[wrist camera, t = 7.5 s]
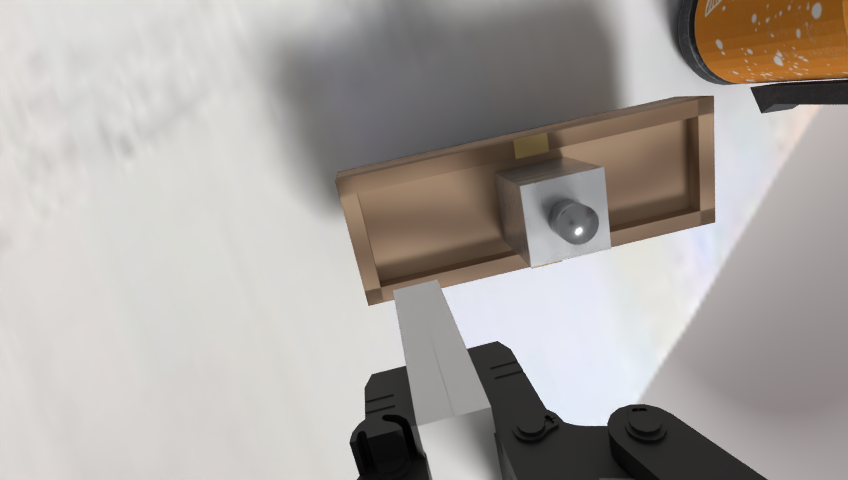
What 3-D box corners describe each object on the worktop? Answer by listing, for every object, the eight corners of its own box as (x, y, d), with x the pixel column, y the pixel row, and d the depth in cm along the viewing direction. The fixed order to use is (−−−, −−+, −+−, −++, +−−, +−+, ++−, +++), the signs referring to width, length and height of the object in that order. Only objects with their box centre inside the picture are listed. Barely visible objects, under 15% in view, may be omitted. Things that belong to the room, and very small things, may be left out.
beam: (341, 163, 33) (334, 180, 26) (641, 96, 35) (716, 94, 27) (367, 266, 36) (368, 307, 28) (647, 200, 37) (717, 223, 30)
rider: (493, 172, 28) (529, 191, 22) (564, 156, 28) (619, 171, 22) (504, 241, 29) (541, 277, 23) (571, 225, 30) (626, 257, 24)
